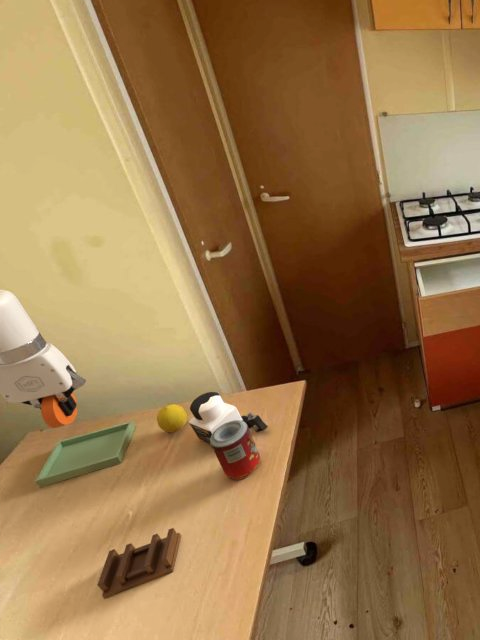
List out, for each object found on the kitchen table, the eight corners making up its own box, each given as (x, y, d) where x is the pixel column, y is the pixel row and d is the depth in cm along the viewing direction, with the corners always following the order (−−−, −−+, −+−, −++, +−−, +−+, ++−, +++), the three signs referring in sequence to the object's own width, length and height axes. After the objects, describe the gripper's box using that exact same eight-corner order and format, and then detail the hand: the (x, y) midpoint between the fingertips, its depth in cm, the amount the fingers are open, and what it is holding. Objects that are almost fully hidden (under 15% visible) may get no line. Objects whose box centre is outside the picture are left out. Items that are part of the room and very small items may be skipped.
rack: (104, 598, 74) (95, 588, 72) (117, 558, 79) (109, 548, 78) (173, 571, 77) (166, 561, 76) (181, 535, 83) (174, 524, 81)
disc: (54, 435, 90) (35, 409, 86) (70, 409, 97) (52, 383, 93) (67, 432, 91) (47, 406, 87) (81, 406, 97) (64, 380, 94)
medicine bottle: (199, 440, 102) (178, 407, 96) (225, 417, 108) (207, 384, 102) (220, 449, 100) (200, 416, 94) (246, 425, 106) (228, 392, 100)
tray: (39, 487, 92) (34, 481, 91) (62, 447, 101) (57, 441, 100) (121, 462, 97) (117, 456, 96) (135, 426, 106) (132, 420, 105)
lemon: (158, 436, 103) (145, 413, 100) (179, 418, 108) (167, 396, 104) (176, 441, 102) (164, 417, 98) (197, 423, 107) (185, 400, 103)
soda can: (266, 466, 96) (251, 429, 90) (232, 488, 91) (213, 451, 86) (255, 448, 100) (239, 412, 95) (222, 468, 96) (203, 431, 90)
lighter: (246, 436, 106) (233, 421, 105) (253, 430, 108) (240, 415, 107) (261, 432, 102) (247, 416, 101) (268, 426, 104) (255, 410, 103)
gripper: (-51, 372, 78) (5, 439, 87) (61, 348, 84) (103, 413, 93) (-26, 348, 84) (24, 413, 93) (76, 327, 90) (115, 390, 99)
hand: (63, 413), depth 93 cm, fingers closed on disc, 2 cm apart
